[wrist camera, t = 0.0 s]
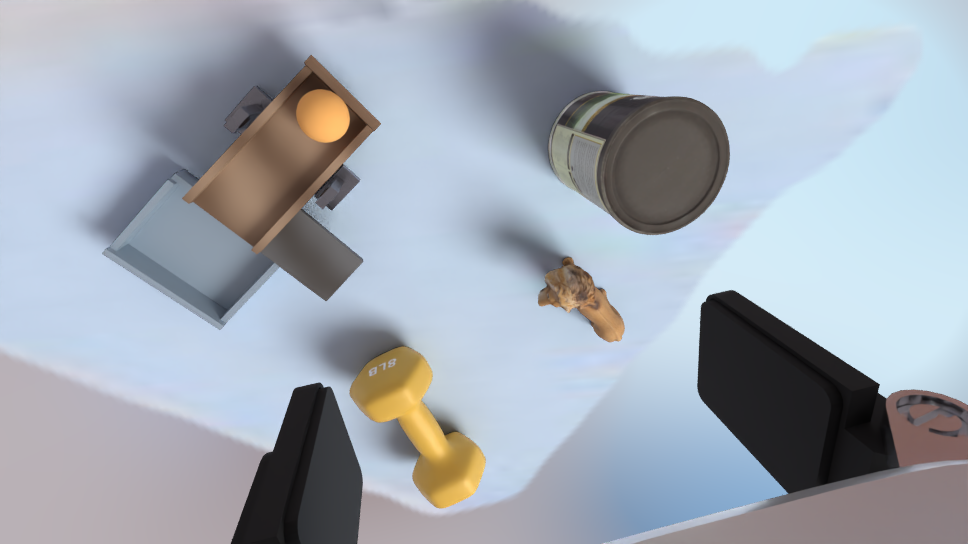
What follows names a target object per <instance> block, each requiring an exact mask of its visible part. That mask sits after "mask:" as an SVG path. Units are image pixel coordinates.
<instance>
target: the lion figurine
mask: <svg viewBox="0 0 968 544" xmlns="http://www.w3.org/2000/svg"><path fill="white" fill-rule="evenodd" d="M562 263H563V265H564V266H562V268H559V269H554V270H553V271H550V272H549V273H547V274H546V275H545V282H546V284H547V287H546V288H544V289H542V290H541V291H540V293H539V295H538V304H539V306H545V305H549V304H552V305H553V306H555V307H562V308H563V309H565V311H567V312H568V313H569V312H570V310H571V309H573V308H577V309H578V310H579V311H580V313H582V314H583V315H584V316H585V317H586V318H588V319H589V320H591V321H592V322H591V326H592V327H593V328H594V331H595V332H596V334H597V335H598V336H599V337H601V338H602V339H604V340H606V341H608V342H613V341H620V340H621V339H622V335H623V333H624V329H625V327H624V322H623V319H622V318H621V316H620V314H619V313H618V311H617V310H616V309H615V308H614V307H613V306H612V305H610V303H609V301H608V299H607V296H606V291H605V290H604V289H600V290H598V289H597V288H596V287H595V286H594V283H593V280H592V277H591V276H590V275H589V274H588V273H587V272H586V271H584V270H583V269H581V268H580V267H578V266H576V265H574V262H573V259H572V258H569V257H567V258H565V259H564V260H563V262H562Z"/></svg>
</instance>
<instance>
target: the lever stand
mask: <svg viewBox="0 0 968 544" xmlns="http://www.w3.org/2000/svg"><path fill="white" fill-rule="evenodd" d="M272 101H273V100H272V99H271V98H270V97H269V96H267V95H266V94H265V93H264V92H263V91H262V90H261V89H260V88H259V87H257V86H254V87H253V88H252V89H251V91H250V92H249V93H248V94H247V95H246V96H245V97H244V99H243V100H242V101H241V102H240V103H239V104H238V106H237V107H236V108H235V109H234V110H233V111H232V112H231V114H230V115H229V116H228V117H227V118H226V119H225V121H226V122H227V123H226V124H225V125H224V126H225V127H226V128H227V129H228V130H229V131H231V132H232V133H235V132H239V133H241V134H242V133H243V132H244V131H245V130H246V129H247V128H248V127H249V126H250V125H251V124H252V123H253V121H254V120H255V119H256V118H257V117H258V116H259V115H260V114H261V113H262V112H263V111H264V110H265V109H266V107H267V106H268V105H269V104H270V103H271V102H272ZM359 181H360V179H359V178H358V177H357V176H356V175H355V174H354V173H352V172H351V171H350V170H349V169H348V168H347V167H346V166H345V165H343V166H342V167H341V168H340V170H339V171H338V172H337V173H336V174H335V175H334V176H333V177H332V178H331V179H330V180H329V181H328V182H327V183H326V184H325V185H324V186H323V188H322V189H321V190H320V191H319V192H318V193H317V194H316V195H315V197H316V198H317V201H316V202H315V203H316V204H317V205H319V206H320V207H321V208H322V209H323V208H324V207H325V206H327V207H328V208H329V209H330V210H333V209H334V208H335V206H336V205H337V204H338V203H339V202H340V201H341V200H342V199H343V198H344V197H345V196H346V195H347V194H348V193H349V192H350V191H351V190H352V189H353V188H354V187H355V186H356V185H357V184H358V182H359Z"/></svg>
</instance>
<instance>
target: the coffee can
mask: <svg viewBox="0 0 968 544" xmlns="http://www.w3.org/2000/svg"><path fill="white" fill-rule="evenodd" d="M548 151H549V159H550V164H551V166H552V168H553V170H554V172H555V174H556V176H557V177H558V178H559V179H560V181H561V182H562V183H563V184H565V185H566V186H567V187H569V188H571V189H572V190H574V191H576V192H578V193H579V194H581V195H582V196H583V197H585V198H586V199H588V200H589V201H591V202H592V203H594V204H595V205H597V206H598V207H600V208H601V209H603V210H604V211H605V212H607V213H608V214H610V215H611V216H612V217H613V218H614V219H615V220H616V221H617V222H619V223H620V224H621V225H623V226H624V227H626V228H627V229H629V230H631V231H634V232H636V233H640V234H647V235H659V234H666V233H669V232H673V231H675V230H678V229H680V228H682V227H684V226H686V225H688V224H689V223H691V222H693V221H694V220H695V219H697V218H698V217H699V216H700V215H701V214H703V213H704V212H705V211H706V209H707V208H708V207H709V206H710V205H711V204H712V202H713V201H714V200H715V198H716V196H717V195H718V193H719V191H720V189H721V187H722V185H723V183H724V180H725V178H726V174H727V171H728V166H729V160H730V151H729V141H728V136H727V133H726V130H725V127H724V125H723V123H722V121H721V120H720V118H719V117H718V115H717V114H716V113H715V112H714V111H713V110H711V109H710V108H709V107H708V106H706V105H705V104H703V103H701V102H700V101H697V100H694V99H692V98H687V97H658V96H645V95H631V94H620V93H613V92H608V91H596V92H591V93H587V94H584V95H582V96H580V97H578V98H576V99H575V100H573V101H572V102H571V103H569V104H568V105H567V106H566V107H565V108H564V109H563V111H562V112H561V113H560V114H559V116H558V117H557V119H556V121H555V123H554V125H553V127H552V130H551V133H550V137H549V145H548Z"/></svg>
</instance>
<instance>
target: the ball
mask: <svg viewBox="0 0 968 544" xmlns="http://www.w3.org/2000/svg"><path fill="white" fill-rule="evenodd" d="M296 117H297V121H298V124H299V126H300V128H301V130H302V131H303V132H304V133H305V134H306V135H307V136H308V137H310V138H311V139H313V140H315V141H318V142H324V143H328V142H333V141H336V140H338V139H340V138H341V137H342V136H343V135H344V134H345V133H346V131H347V129H348V127H349V122H350V116H349V111H348V108H347V106H346V104H345V103H344V101H343V100H342V99H341V98H340V97H339V96H338V95H336V94H335V93H333V92H331V91H328V90H323V89H317V90H313V91H310V92H308V93H306V94H305V95H304V96H303V97H302V98H301V99H300V101H299V103H298V105H297V110H296Z"/></svg>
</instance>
